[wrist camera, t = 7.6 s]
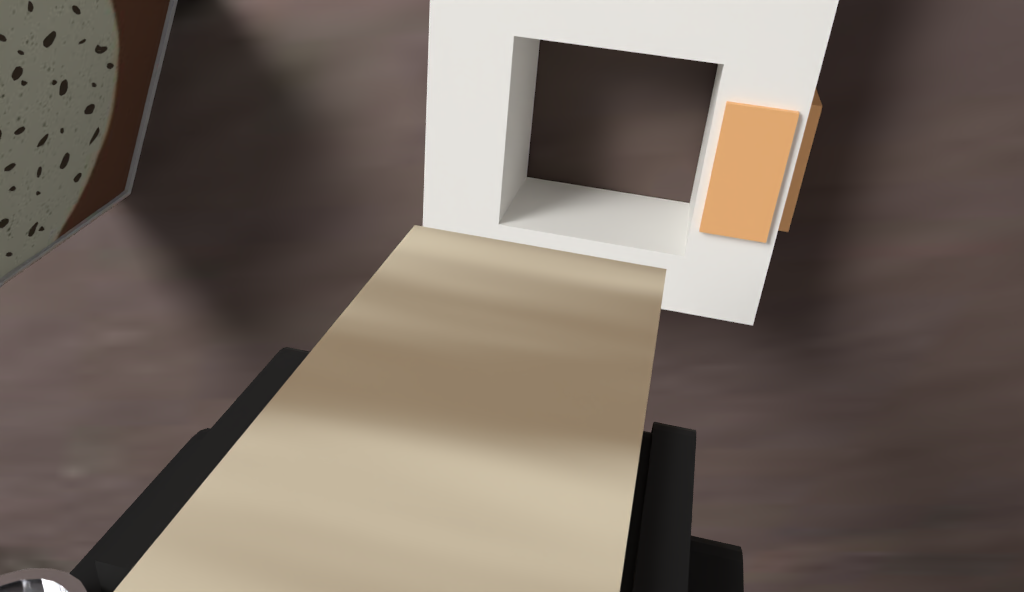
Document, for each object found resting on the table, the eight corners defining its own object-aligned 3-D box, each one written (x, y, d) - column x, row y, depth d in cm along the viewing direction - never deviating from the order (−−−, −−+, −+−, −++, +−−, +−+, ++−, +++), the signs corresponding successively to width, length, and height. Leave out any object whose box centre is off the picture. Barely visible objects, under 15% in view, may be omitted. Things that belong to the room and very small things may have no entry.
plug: (415, 225, 13) (-157, 918, 5) (666, 268, 13) (536, 1159, 4) (408, 424, 15) (-1, 1170, 7) (626, 470, 15) (484, 1359, 6)
